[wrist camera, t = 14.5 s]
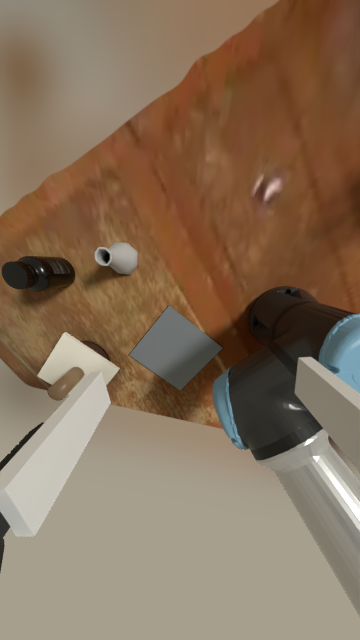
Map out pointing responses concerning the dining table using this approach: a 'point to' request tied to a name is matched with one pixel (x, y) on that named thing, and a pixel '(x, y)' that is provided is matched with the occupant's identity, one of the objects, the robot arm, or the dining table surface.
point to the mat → (175, 349)
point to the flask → (118, 257)
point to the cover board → (73, 366)
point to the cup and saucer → (97, 349)
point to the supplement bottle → (38, 273)
